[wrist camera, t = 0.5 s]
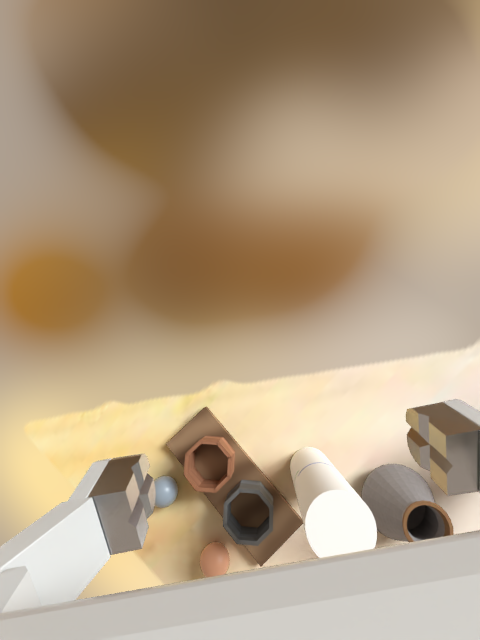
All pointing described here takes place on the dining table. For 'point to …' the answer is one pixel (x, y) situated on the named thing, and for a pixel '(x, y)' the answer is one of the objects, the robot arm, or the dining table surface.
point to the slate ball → (165, 491)
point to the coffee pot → (404, 505)
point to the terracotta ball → (214, 560)
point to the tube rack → (234, 486)
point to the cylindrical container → (330, 507)
